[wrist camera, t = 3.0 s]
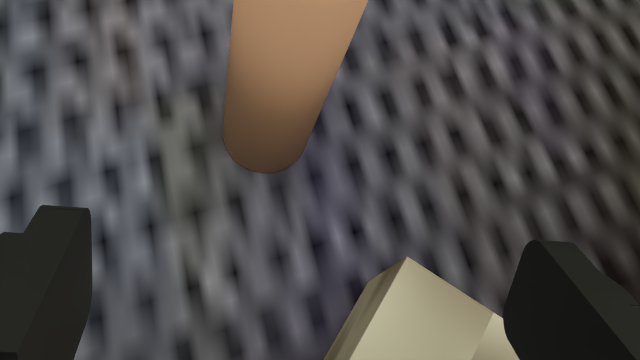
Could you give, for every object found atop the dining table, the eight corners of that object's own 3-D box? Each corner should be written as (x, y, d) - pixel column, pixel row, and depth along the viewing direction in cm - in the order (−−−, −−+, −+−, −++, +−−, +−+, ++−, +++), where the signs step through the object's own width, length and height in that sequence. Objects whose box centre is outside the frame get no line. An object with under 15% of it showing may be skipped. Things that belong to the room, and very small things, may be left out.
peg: (253, 80, 27) (290, -139, 16) (321, 125, 27) (408, -64, 16) (205, 142, 26) (209, -50, 14) (277, 189, 25) (337, 33, 14)
